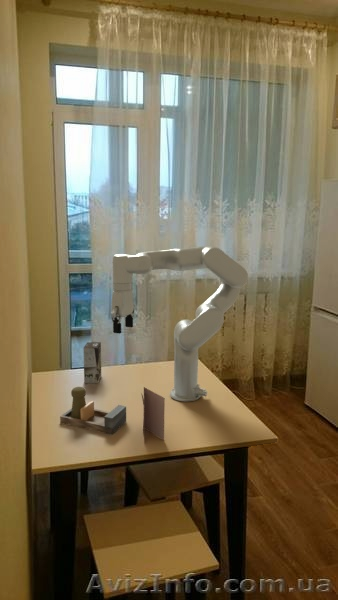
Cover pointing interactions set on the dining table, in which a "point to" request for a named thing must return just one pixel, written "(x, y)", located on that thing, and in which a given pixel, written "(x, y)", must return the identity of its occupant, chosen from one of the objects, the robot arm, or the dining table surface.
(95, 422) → the lane
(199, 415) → the dining table surface
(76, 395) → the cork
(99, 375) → the coffee box
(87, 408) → the pusher
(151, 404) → the greeting card
